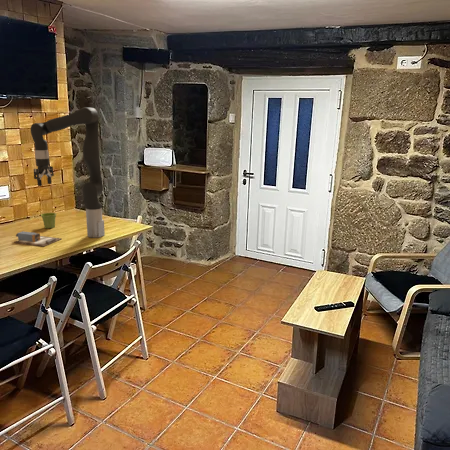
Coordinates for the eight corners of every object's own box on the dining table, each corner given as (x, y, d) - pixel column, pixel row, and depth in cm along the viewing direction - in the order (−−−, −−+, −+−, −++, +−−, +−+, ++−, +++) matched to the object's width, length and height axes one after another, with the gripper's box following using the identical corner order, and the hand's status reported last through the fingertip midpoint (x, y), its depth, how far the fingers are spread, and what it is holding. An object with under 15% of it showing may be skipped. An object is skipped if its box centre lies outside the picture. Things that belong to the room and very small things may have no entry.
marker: (40, 240, 243) (39, 233, 242) (35, 242, 239) (34, 235, 238) (20, 237, 247) (19, 230, 246) (14, 239, 243) (14, 232, 242)
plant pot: (38, 228, 270) (37, 214, 268) (50, 224, 279) (49, 212, 276) (48, 230, 266) (47, 216, 264) (60, 226, 274) (59, 213, 272)
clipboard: (61, 239, 248) (61, 236, 247) (44, 246, 234) (43, 243, 233) (33, 235, 253) (33, 233, 253) (14, 243, 239) (14, 239, 239)
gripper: (39, 159, 241) (42, 187, 245) (55, 156, 254) (57, 183, 258) (28, 158, 243) (31, 186, 247) (45, 156, 256) (47, 182, 260)
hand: (44, 184), depth 253 cm, fingers open, 8 cm apart
